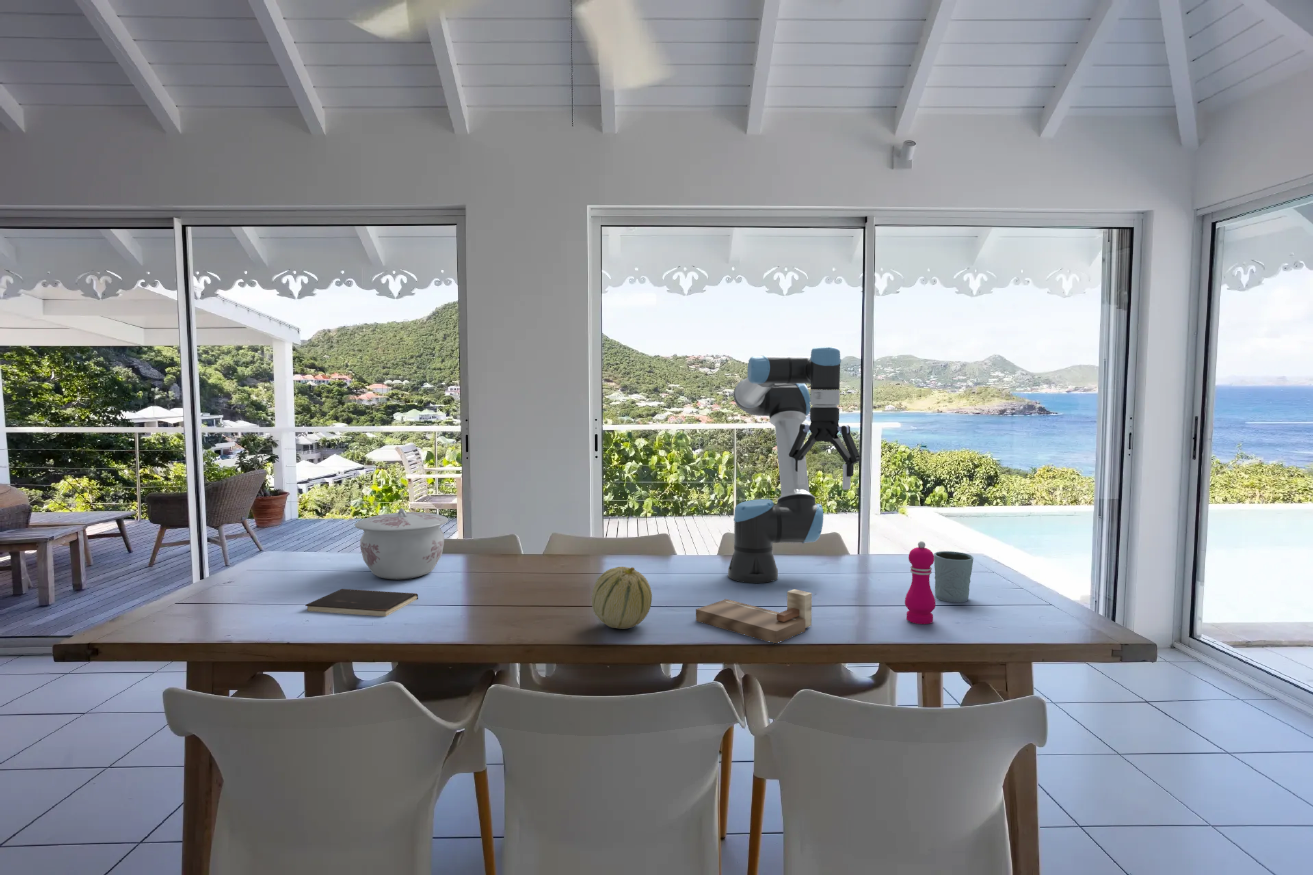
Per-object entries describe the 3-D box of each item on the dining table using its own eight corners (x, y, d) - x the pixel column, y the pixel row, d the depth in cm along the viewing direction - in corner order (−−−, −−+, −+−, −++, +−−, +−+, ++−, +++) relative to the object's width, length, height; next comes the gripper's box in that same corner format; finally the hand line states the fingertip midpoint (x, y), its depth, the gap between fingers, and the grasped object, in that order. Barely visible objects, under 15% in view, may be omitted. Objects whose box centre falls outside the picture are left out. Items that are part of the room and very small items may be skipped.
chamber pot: (411, 590, 213) (409, 518, 212) (335, 581, 223) (333, 512, 221) (468, 567, 240) (467, 503, 238) (398, 560, 249) (396, 498, 248)
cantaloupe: (597, 616, 189) (597, 558, 188) (654, 618, 188) (654, 559, 187) (585, 636, 175) (585, 573, 174) (648, 638, 173) (648, 574, 172)
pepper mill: (899, 616, 190) (901, 538, 188) (927, 615, 190) (929, 538, 189) (911, 625, 182) (913, 544, 181) (940, 624, 183) (942, 544, 182)
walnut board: (696, 620, 186) (696, 608, 186) (726, 610, 194) (726, 598, 194) (776, 644, 169) (776, 630, 169) (805, 631, 178) (805, 618, 178)
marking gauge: (771, 630, 177) (771, 597, 177) (797, 619, 185) (797, 587, 185) (789, 635, 174) (789, 601, 173) (814, 624, 182) (815, 591, 181)
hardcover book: (385, 618, 189) (385, 609, 189) (305, 613, 194) (305, 604, 194) (418, 600, 205) (418, 592, 205) (343, 596, 209) (343, 588, 209)
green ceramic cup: (942, 590, 213) (943, 549, 212) (978, 598, 206) (979, 555, 205) (926, 597, 206) (927, 555, 205) (962, 605, 199) (964, 561, 198)
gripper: (776, 405, 202) (776, 483, 204) (860, 407, 185) (859, 492, 186) (792, 405, 207) (791, 480, 209) (875, 407, 190) (873, 489, 192)
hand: (823, 486), depth 198 cm, fingers open, 13 cm apart
